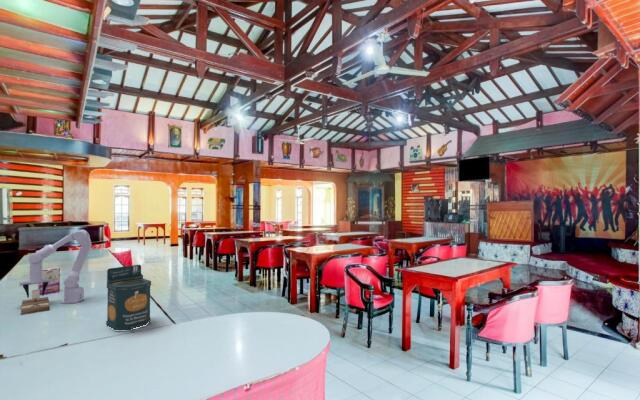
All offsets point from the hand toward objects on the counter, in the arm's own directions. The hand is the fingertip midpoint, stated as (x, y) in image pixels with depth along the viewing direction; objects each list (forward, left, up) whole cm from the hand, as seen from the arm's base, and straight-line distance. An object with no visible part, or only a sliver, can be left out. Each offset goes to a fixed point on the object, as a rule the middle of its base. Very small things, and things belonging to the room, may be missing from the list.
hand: (35, 296), depth 198 cm
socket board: (-4, +5, -5) cm, 8 cm away
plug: (0, 0, -3) cm, 3 cm away
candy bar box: (+14, -27, -5) cm, 31 cm away
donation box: (-75, +34, -6) cm, 82 cm away
